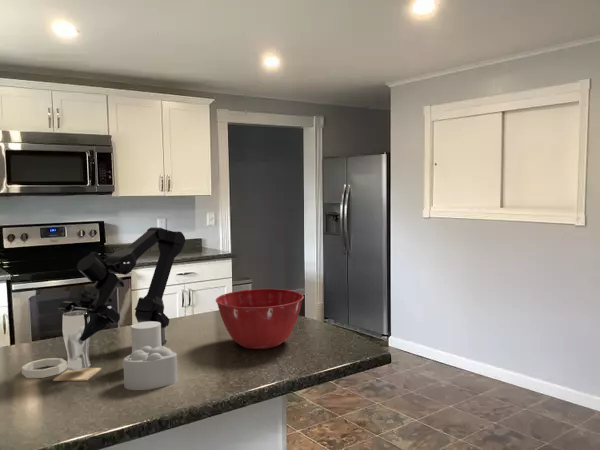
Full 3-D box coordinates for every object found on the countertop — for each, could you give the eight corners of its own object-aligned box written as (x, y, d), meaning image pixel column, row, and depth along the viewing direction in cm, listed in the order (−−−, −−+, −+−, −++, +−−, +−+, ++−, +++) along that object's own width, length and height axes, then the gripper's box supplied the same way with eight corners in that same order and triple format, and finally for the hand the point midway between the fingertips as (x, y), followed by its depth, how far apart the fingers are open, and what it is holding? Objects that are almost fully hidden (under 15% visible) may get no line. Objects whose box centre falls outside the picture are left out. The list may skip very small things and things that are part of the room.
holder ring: (72, 364, 149) (72, 358, 149) (53, 377, 139) (53, 370, 139) (37, 365, 150) (36, 358, 150) (15, 378, 139) (14, 370, 139)
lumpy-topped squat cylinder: (181, 382, 134) (180, 350, 133) (130, 394, 126) (129, 359, 126) (167, 371, 142) (166, 340, 142) (119, 381, 135) (118, 349, 135)
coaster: (101, 369, 145) (101, 367, 145) (86, 380, 136) (86, 379, 136) (70, 369, 146) (70, 367, 146) (53, 380, 137) (53, 379, 137)
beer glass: (93, 361, 145) (91, 309, 144) (90, 369, 139) (87, 315, 137) (67, 363, 144) (64, 311, 142) (62, 372, 137) (59, 317, 136)
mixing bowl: (286, 360, 150) (285, 308, 149) (200, 352, 159) (199, 303, 158) (315, 334, 176) (314, 290, 176) (239, 329, 186) (238, 287, 185)
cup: (167, 362, 150) (166, 322, 149) (151, 372, 142) (149, 329, 141) (144, 360, 152) (142, 320, 152) (126, 369, 145) (124, 327, 144)
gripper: (61, 273, 147) (29, 320, 138) (109, 276, 139) (78, 327, 130) (85, 295, 155) (56, 341, 145) (132, 299, 147) (104, 348, 137)
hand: (72, 339), depth 139 cm, fingers closed on beer glass, 6 cm apart
